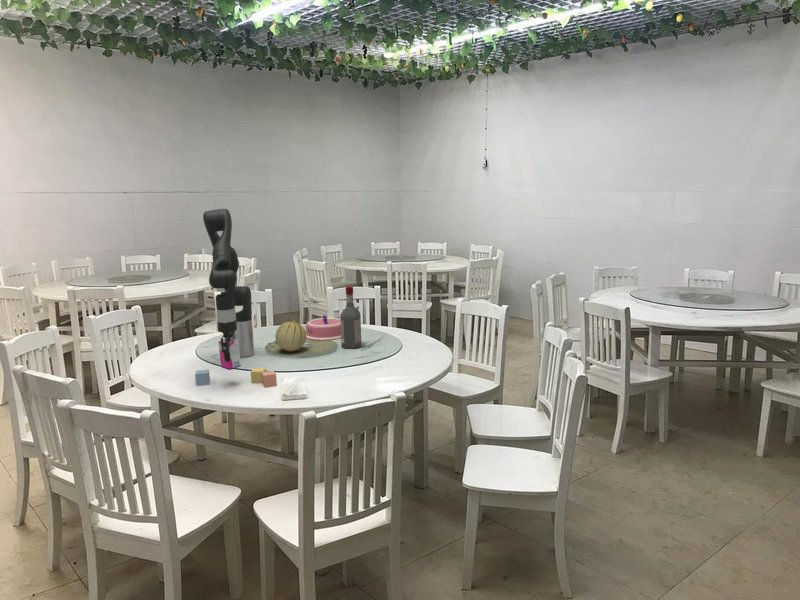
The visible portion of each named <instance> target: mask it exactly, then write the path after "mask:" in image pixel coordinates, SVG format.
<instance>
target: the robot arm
mask: <svg viewBox="0 0 800 600" xmlns="http://www.w3.org/2000/svg"><path fill="white" fill-rule="evenodd" d="M202 215H203V216H202V219H203V224H204V227H205V230H206V232H207V234H208V235H207V236H208V238H209V240H210V243H211V245H212V255H211V256H212V267H211V271H210V273H209V278H208V282H209V286H210V287H211V288H213V289H224V292H222V293H219V294H216V296H215V307H216V324H217V326H216V327H217V331H218V332H219V333H222V336H221V337H220V341H221V347H222V352H223V353H224V360H225V362H228V361H230V347H231V345H232V340H233V339H236V340H238V344H239V354H240V358H247V357H252V356H255V343H254V330H253V328H254V327H253V315H252V314H253V313H252V312H253V311H252V310H253V309H252V292H251V288H250V287H249V286H248V285H247V286H246V285H244V286H243V285H242V286H239V285H238V286H236V285H237V280H238V275H237V273H238V270H239V267H240V261H239V258H238V254H237V251H236V250H235V248H234V247H232V246H231V242H232V231H233V230H232V229H233V220H232V216H231V215H232V214H231V212H230V211H229V210H228V208H219V209H218V208H217V209H211V210H206V211H204V212H203V214H202ZM218 232H222V233H221V235H219V233H218ZM241 306H242V308H241V310H240V311H237V312H236V307H241ZM228 342H230V344H228ZM225 347H227V349H225Z"/></svg>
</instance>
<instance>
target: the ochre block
mask: <svg viewBox="0 0 800 600" xmlns="http://www.w3.org/2000/svg"><path fill="white" fill-rule="evenodd" d="M261 372H267V367H253V368H252V370H250V383H251V384H262V374H261Z"/></svg>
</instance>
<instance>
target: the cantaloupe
mask: <svg viewBox="0 0 800 600" xmlns="http://www.w3.org/2000/svg"><path fill="white" fill-rule="evenodd" d="M274 335H275V338H274V339H275V342H276V344H277V346H278V347H279V348H280V349H281V350H283V351H285V352H287V353H288V352H296V351H298V350H301V348H303V346H304V345H305V343H306V340H307V339H306V328H305V327H303V325H302V324H300V323H298V322H296V320H295V319H293V321H285V322H283V323H281V324H280V325H279V326H278V327H277V329H276V331H275V334H274Z"/></svg>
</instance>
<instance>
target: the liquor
mask: <svg viewBox="0 0 800 600" xmlns="http://www.w3.org/2000/svg"><path fill="white" fill-rule="evenodd" d="M345 295H346V299H345V300H346V305H345V307H344V309H343V310H342V312H341V313H340V314H339V315H340V316H339V319H340V324H341V339H340V343H341V348H342V349H344V350H356V349H359V348H361V346H362V323H361V321H362V320H361V318H362V317H361V313H360V311H359V309H357V308H356V306H355V304H354V296H353V295H354V286H346V287H345Z"/></svg>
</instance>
